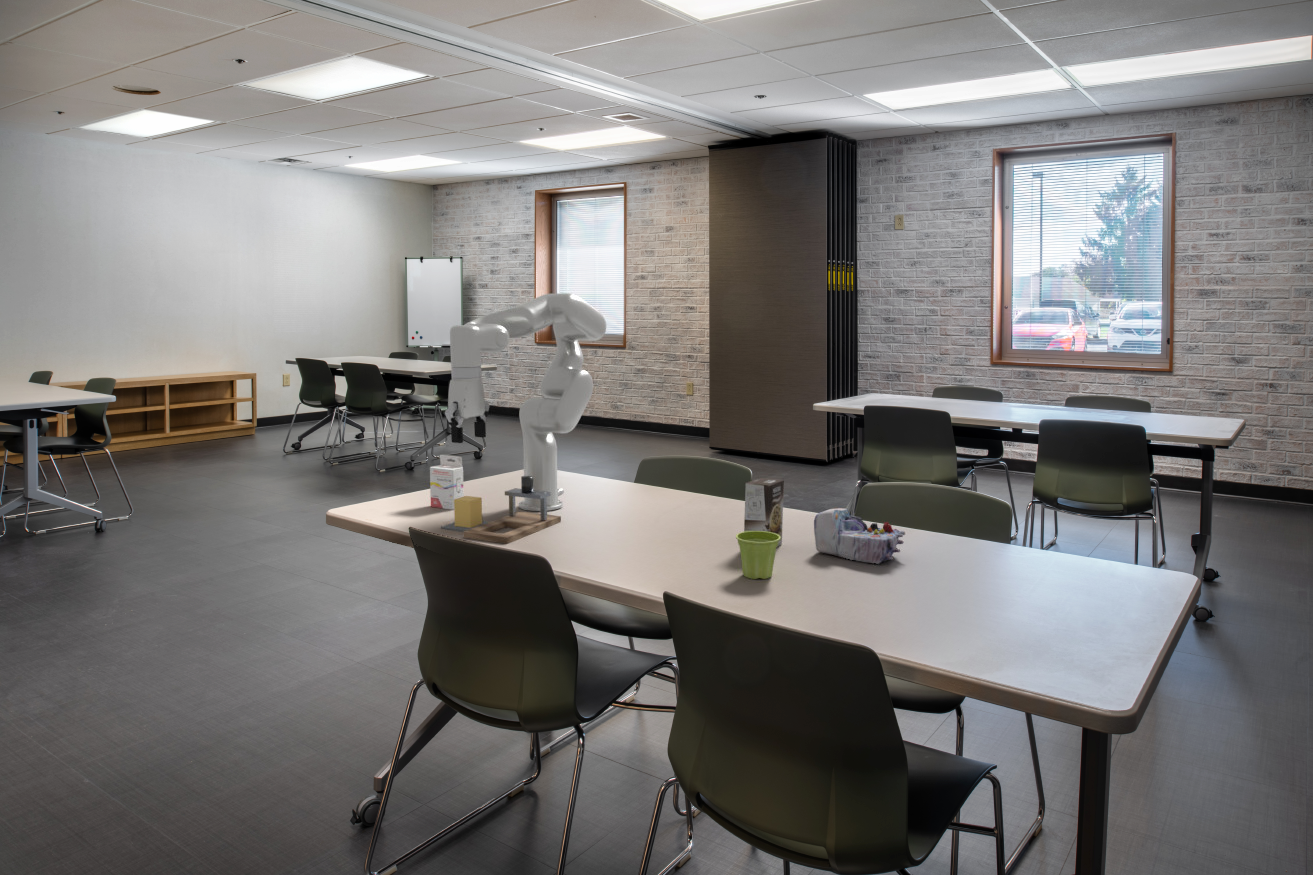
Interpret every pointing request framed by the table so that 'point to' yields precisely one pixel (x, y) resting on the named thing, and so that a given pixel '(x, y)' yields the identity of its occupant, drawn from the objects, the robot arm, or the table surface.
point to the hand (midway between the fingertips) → (469, 439)
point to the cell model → (854, 537)
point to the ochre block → (468, 511)
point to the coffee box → (764, 506)
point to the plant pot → (757, 553)
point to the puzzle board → (522, 523)
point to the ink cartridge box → (446, 482)
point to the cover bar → (528, 496)
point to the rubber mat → (458, 528)
